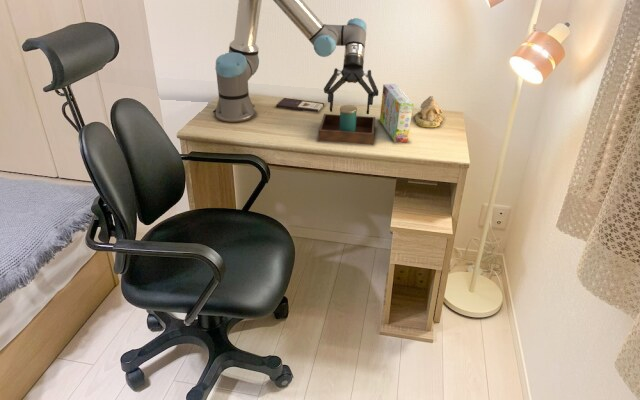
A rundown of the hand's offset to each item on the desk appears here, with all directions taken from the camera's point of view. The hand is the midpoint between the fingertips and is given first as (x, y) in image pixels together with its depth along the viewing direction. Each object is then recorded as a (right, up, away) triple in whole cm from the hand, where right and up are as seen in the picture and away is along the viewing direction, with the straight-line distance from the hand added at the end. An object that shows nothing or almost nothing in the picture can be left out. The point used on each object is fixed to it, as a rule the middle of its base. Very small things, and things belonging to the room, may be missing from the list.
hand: (349, 111), depth 176 cm
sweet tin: (-1, -8, +2) cm, 8 cm away
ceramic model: (+33, -1, +15) cm, 36 cm away
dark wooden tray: (-1, -8, +3) cm, 9 cm away
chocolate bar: (-19, +7, +26) cm, 33 cm away
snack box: (+17, -6, +6) cm, 19 cm away
